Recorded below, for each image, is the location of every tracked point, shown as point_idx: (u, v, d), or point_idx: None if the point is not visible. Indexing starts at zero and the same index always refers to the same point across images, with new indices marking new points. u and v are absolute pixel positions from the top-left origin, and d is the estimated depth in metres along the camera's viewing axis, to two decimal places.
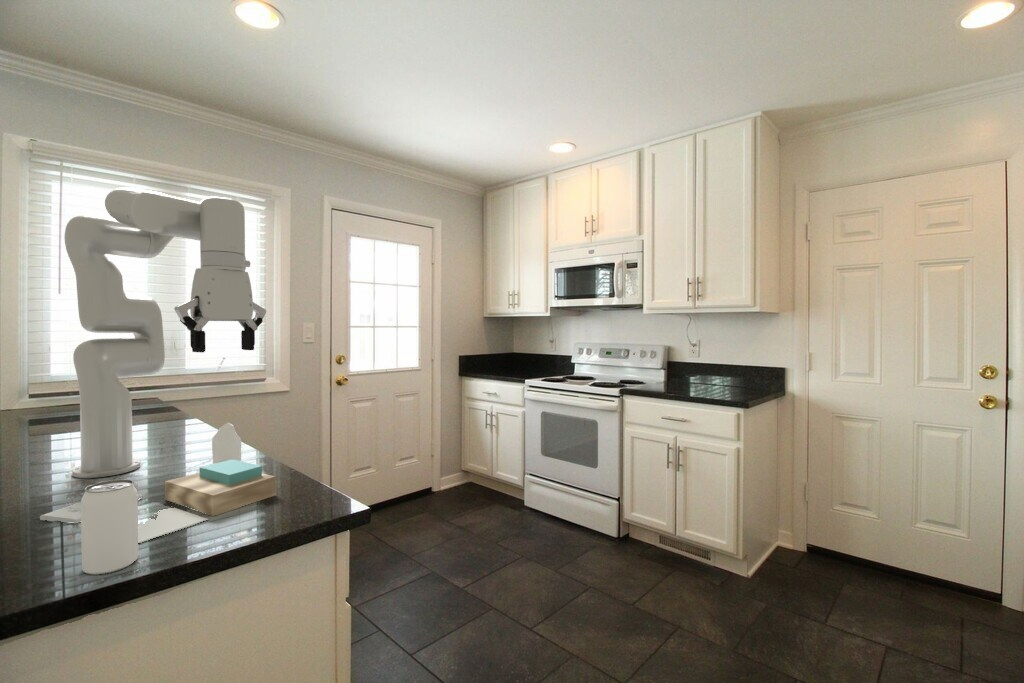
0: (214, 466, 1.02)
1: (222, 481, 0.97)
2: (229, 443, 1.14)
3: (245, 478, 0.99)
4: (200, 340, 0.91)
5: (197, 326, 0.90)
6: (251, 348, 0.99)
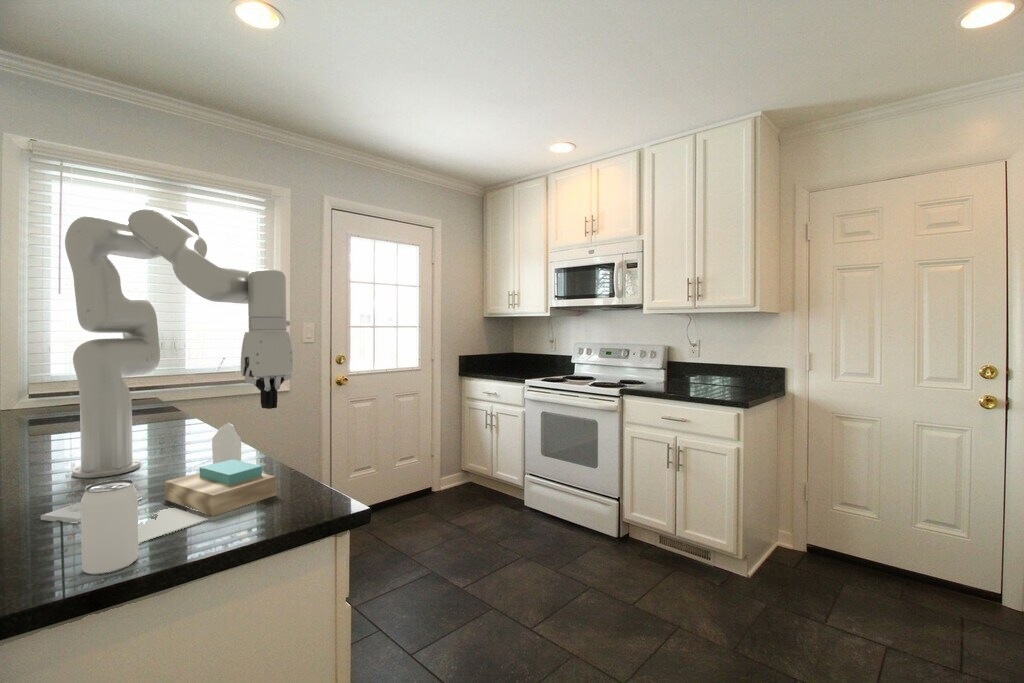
0: (214, 466, 1.02)
1: (222, 481, 0.97)
2: (229, 443, 1.14)
3: (245, 478, 0.99)
4: (269, 398, 1.07)
5: (266, 388, 1.07)
6: (274, 406, 1.08)
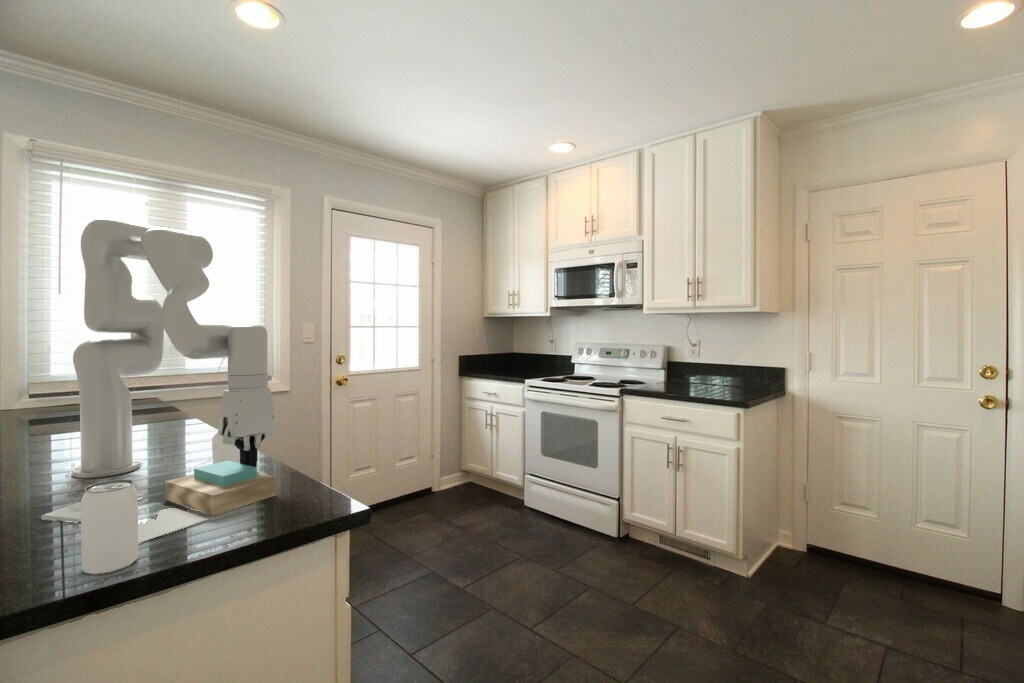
0: (209, 467, 1.01)
1: (216, 483, 0.96)
2: None
3: (240, 480, 0.98)
4: (248, 458, 1.04)
5: (246, 448, 1.03)
6: (254, 465, 1.05)
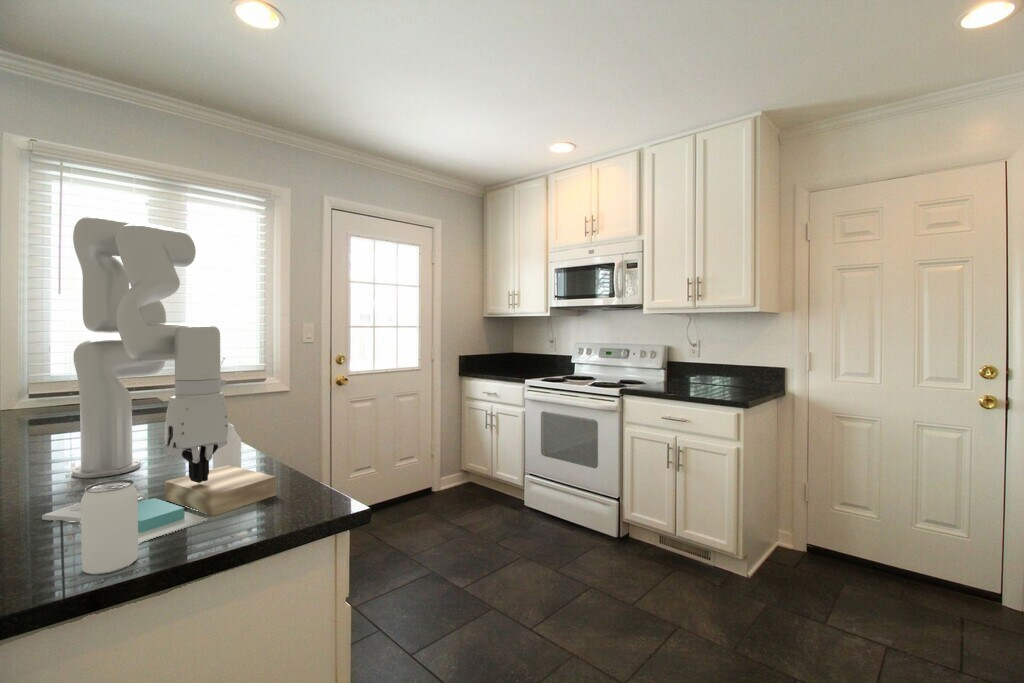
0: None
1: None
2: (229, 443, 1.14)
3: (164, 516, 0.86)
4: (198, 471, 0.95)
5: (194, 460, 0.94)
6: (205, 479, 0.96)
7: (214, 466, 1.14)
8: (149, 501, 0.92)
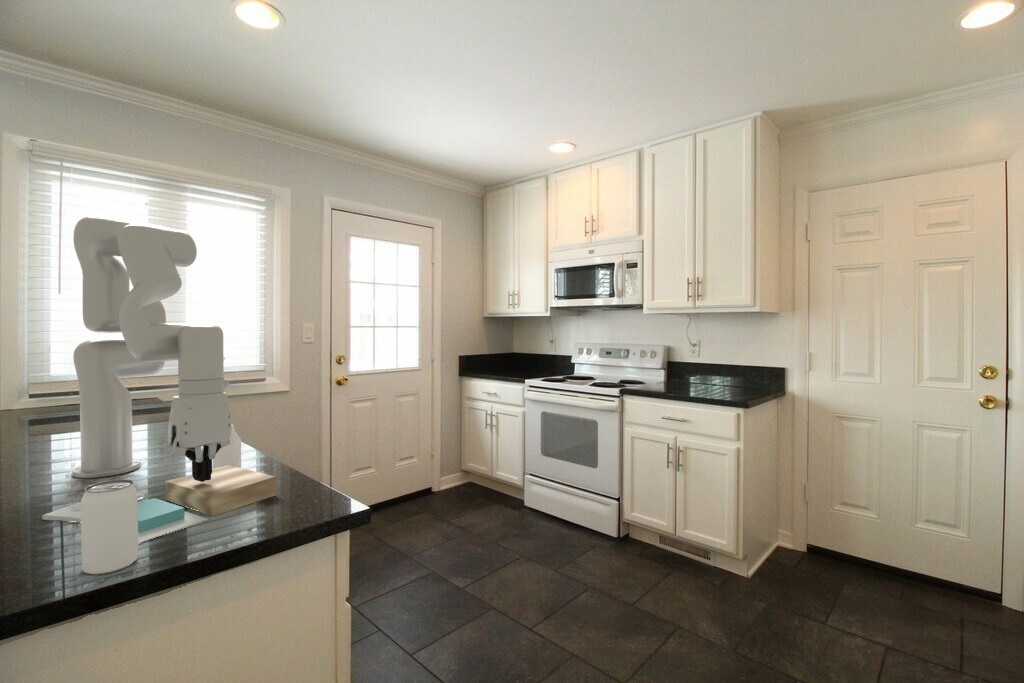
0: None
1: None
2: None
3: (164, 516, 0.86)
4: (201, 470, 0.95)
5: (198, 459, 0.95)
6: (208, 478, 0.96)
7: (214, 466, 1.14)
8: (149, 501, 0.92)
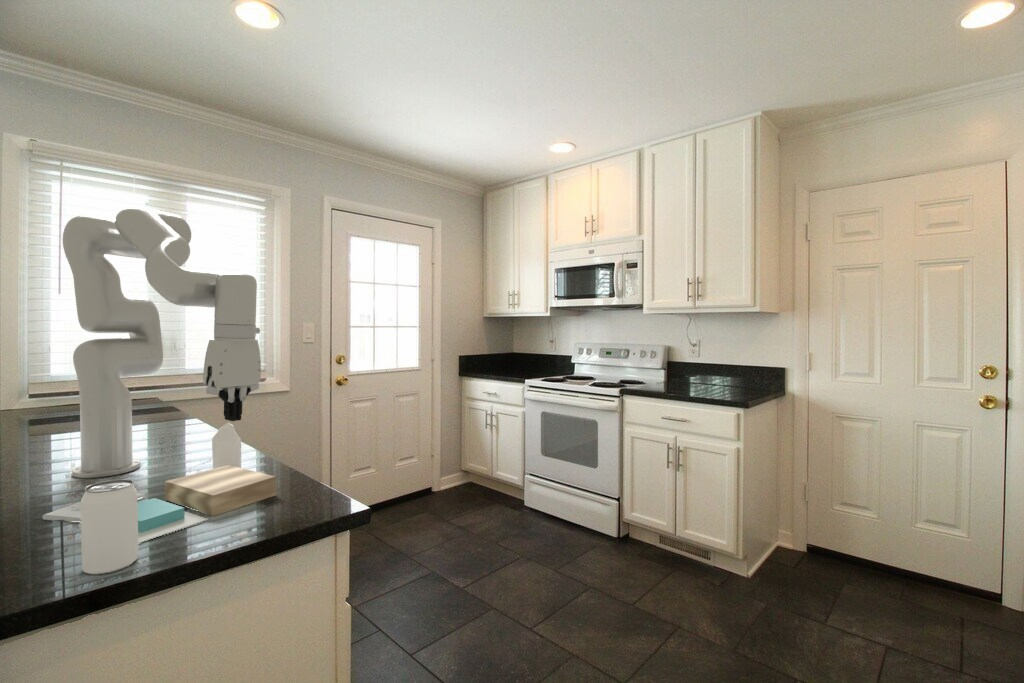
0: None
1: None
2: (229, 443, 1.14)
3: (164, 516, 0.86)
4: (232, 410, 1.01)
5: (230, 399, 1.01)
6: (238, 418, 1.02)
7: (214, 466, 1.14)
8: (149, 501, 0.92)
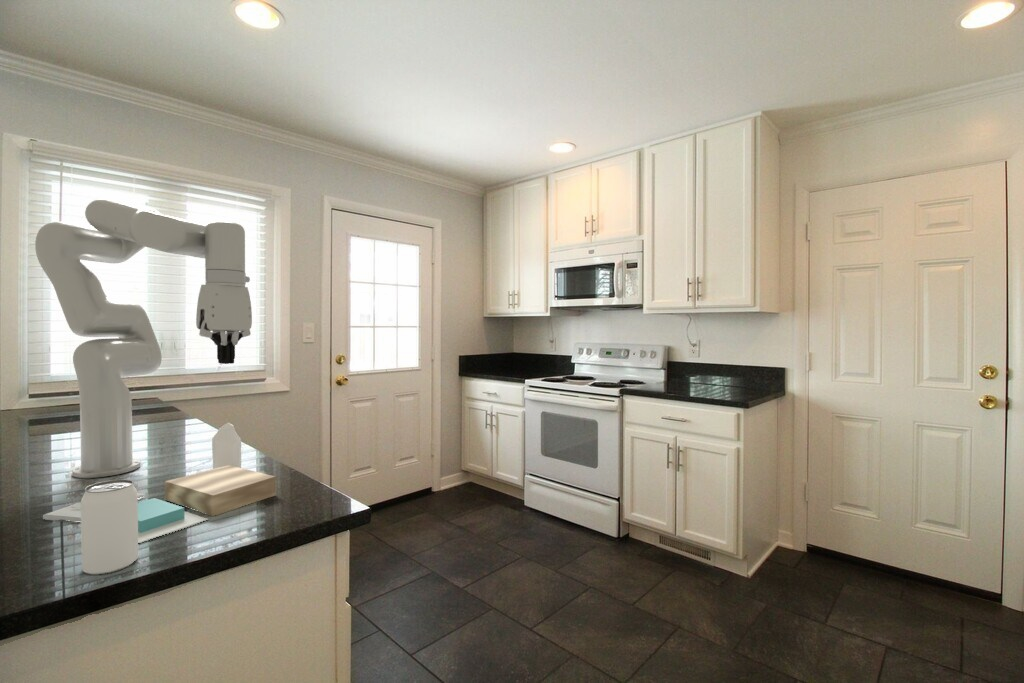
0: None
1: None
2: (229, 443, 1.14)
3: (164, 516, 0.86)
4: (225, 353, 1.06)
5: (223, 342, 1.05)
6: (231, 361, 1.07)
7: (214, 466, 1.14)
8: (149, 501, 0.92)
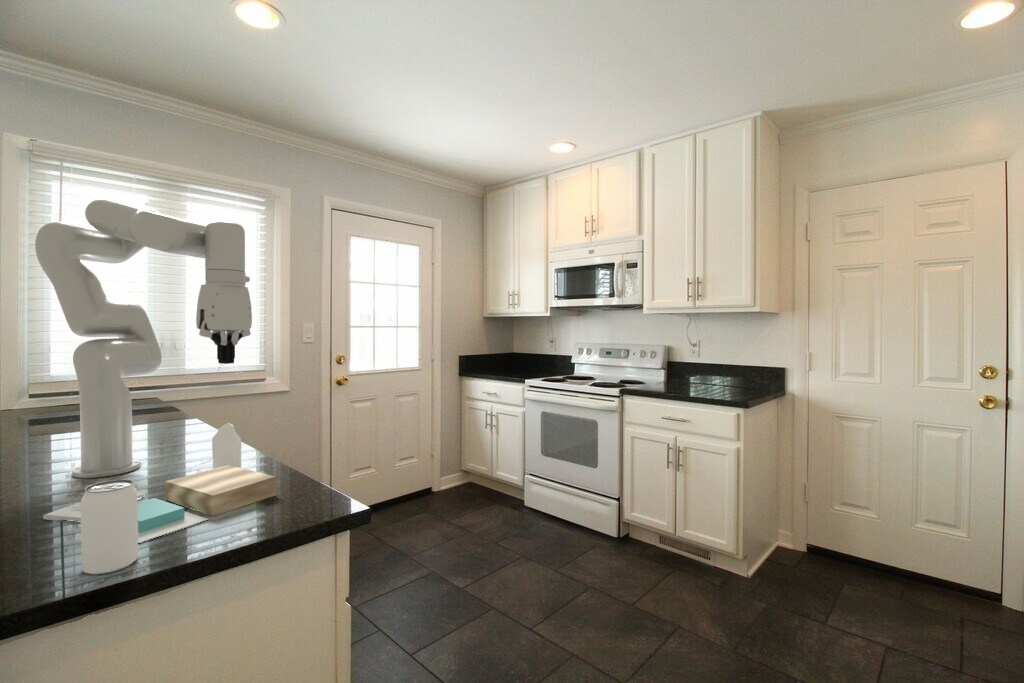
0: None
1: None
2: (229, 443, 1.14)
3: (164, 516, 0.86)
4: (225, 353, 1.06)
5: (223, 342, 1.05)
6: (231, 361, 1.07)
7: (214, 466, 1.14)
8: (149, 501, 0.92)
